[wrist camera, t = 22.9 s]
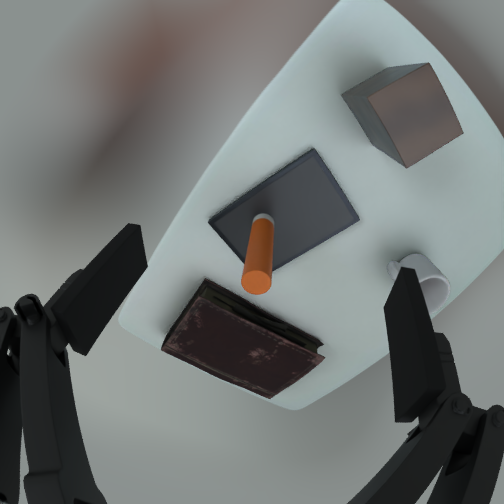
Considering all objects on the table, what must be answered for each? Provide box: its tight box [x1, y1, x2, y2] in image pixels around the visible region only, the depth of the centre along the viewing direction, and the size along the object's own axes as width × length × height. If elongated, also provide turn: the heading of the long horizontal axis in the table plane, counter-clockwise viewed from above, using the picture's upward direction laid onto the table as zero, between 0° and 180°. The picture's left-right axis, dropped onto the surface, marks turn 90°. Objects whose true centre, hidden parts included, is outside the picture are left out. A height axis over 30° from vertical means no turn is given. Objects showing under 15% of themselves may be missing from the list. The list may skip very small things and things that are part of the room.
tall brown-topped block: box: [341, 63, 463, 168], centre depth 28 cm, size 8×8×12 cm
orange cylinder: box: [241, 213, 274, 295], centre depth 36 cm, size 3×3×14 cm
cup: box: [387, 254, 450, 315], centre depth 41 cm, size 11×8×8 cm
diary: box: [161, 279, 325, 399], centre depth 53 cm, size 19×25×5 cm
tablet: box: [208, 148, 360, 271], centre depth 42 cm, size 12×18×1 cm, turn 127°
